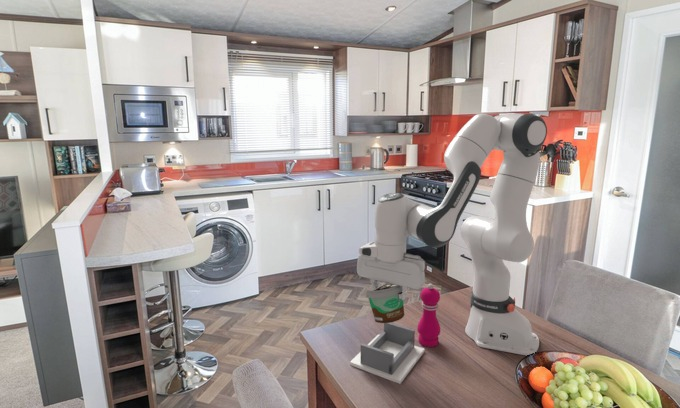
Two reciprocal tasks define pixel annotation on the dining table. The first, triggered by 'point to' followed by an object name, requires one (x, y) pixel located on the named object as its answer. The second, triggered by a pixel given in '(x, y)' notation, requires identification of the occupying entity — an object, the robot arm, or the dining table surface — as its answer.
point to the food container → (386, 303)
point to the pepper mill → (429, 317)
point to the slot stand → (389, 353)
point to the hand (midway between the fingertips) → (389, 295)
